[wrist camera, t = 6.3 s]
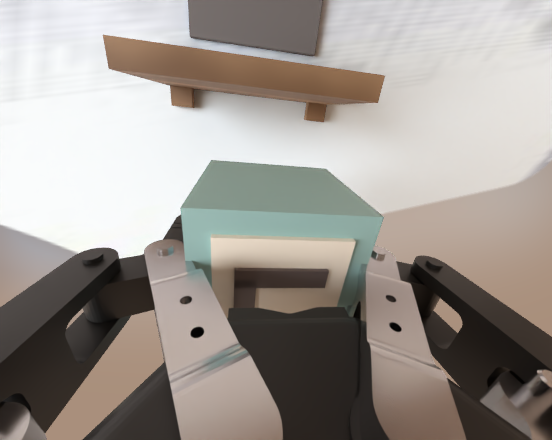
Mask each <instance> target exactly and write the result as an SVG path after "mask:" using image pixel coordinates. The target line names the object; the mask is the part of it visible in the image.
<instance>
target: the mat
mask: <svg viewBox="0 0 552 440" xmlns="http://www.w3.org/2000/svg"><path fill="white" fill-rule="evenodd" d="M322 1H323V0H188V9H189V30H190V37H191V38H196V39H203V40H209V41H216V42H222V43H229V44H236V45H242V46H249V47H256V48H262V49H269V50H276V51H282V52H289V53H296V54H302V55H309V56H314V55H315V49H316V42H317V35H318V28H319V22H320V15H321V8H322Z"/></svg>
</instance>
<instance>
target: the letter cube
mask: <svg viewBox="0 0 552 440" xmlns="http://www.w3.org/2000/svg"><path fill="white" fill-rule="evenodd" d="M383 218H384V217H383V216H382V215H381V214H380V213H378V212H377V211H376V210H375V209H374V208H372V207H371V206H370V205H369V204H367V203H366V202H365V201H364V200H363V199H361V198H360V197H359V196H358V195H357V194H355V193H354V192H353V191H352V190H351V189H349V188H348V187H347V186H346V185H344V184H343V183H342V182H341V181H340V180H338V179H337V178H336V177H335V176H334V175H332V174H331V173H330V172H329V171H328V170H326V169H321V168H308V167H295V166H282V165H269V164H255V163H242V162H229V161H216V160H211V162H210V163H209V165H208V166H207V168H206V169H205V171H204V172H203V174H202V176H201V177H200V179H199V180H198V182H197V183H196V185H195V186H194V188H193V189H192V191H191V192H190V194H189V196H188V197H187V199H186V200H185V202H184V203H183V205H182V206H181V219H182V230H183V241H184V252H185V261H192V262H193V264H194V266H195V268H196V269H202V270H203V272H204V274H205V276H206V278H207V280H208V282H209V284H210V286H211V288H212V290H213V292H214V294H215V296H216V298H217V300H218V302H219V304H220V306H221V308H222V310H223V312H224V314H225V316H226V318H228V311H229V308H263V309H268V310H273V311H278V312H283V313H295V312H299V311H303V310H307V309H311V308H316V307H345V309H347V306H348V305H352V304H353V301H354V298H355V295H356V291H357V285H358V273H359V270H360V266H361V264H368V263H369V260H370V257H371V254H372V251H373V248H374V245H375V242H376V239H377V236H378V233H379V230H380V227H381V224H382V221H383Z"/></svg>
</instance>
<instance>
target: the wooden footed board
mask: <svg viewBox="0 0 552 440" xmlns="http://www.w3.org/2000/svg"><path fill="white" fill-rule="evenodd" d="M103 38H104V44H105V50H106V55H107V61H108V66H109V69H112V70H116V71H119V72H123V73H127V74H130V75H134V76H137V77H141V78H145V79H148V80H152V81H155V82H159V83H163V84H166V85H170V89H171V101H172V105H173V106H182V107H191V108H194V89H199V90H207V91H215V92H224V93H232V94H240V95H249V96H257V97H265V98H273V99H282V100H290V101H298V102H306V110H305V117H304V120H309V121H318V122H324V117H325V111H326V105H327V104H355V103H378V100H379V96H380V93H381V89H382V85H383V81H384V77H385V76H384V75H377V74H370V73H363V72H356V71H349V70H342V69H335V68H329V67H322V66H315V65H308V64H301V63H294V62H287V61H280V60H273V59H266V58H260V57H253V56H246V55H239V54H232V53H225V52H218V51H211V50H204V49H197V48H190V47H184V46H177V45H170V44H163V43H156V42H149V41H142V40H135V39H128V38H121V37H114V36H108V35H103Z"/></svg>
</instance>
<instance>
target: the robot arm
mask: <svg viewBox="0 0 552 440" xmlns="http://www.w3.org/2000/svg"><path fill="white" fill-rule="evenodd" d="M440 298H441V299H442V300H443V301H445V302H446V303H447V304H448V305H449V306H451V307H452V308H453V309H454V310H455V311H456V312H457V313H458V314H459V315H460V316H461V319H462V322H463V325H462V328H461V329H460V331H459V333H457V332H456V331H454V330H453V329H452V328H451V327H450V326H449V325H448V324H447V323H446V322H445V321H444V320H443V319H442V318H441V317H440V316H439V315H437V314H436V313H435V312H434V311H433V310H434V308H435V306H436V304H437V302H438V301H439V299H440ZM82 308H83V310H84V312H83V313H82V314H81V315H80V316H79V317H78V318H77V319H76V320H75V321H74V322H73V323H72V324H71V325H70V327H68V328H67V325H68V323H69V322H70V320H71V319H72V318H73V317H74V316H75V315H76V314H77V313H78V312H79V311H80V310H81V309H82ZM150 310H154V311H155V316H156V321H157V326H158V332H159V337H160V342H161V348H162V353H163V359H164V363H163V364H162V365H161V366H160V367H159V368H158V369H157V370H156V371H155V372H154V373H153V374H151V376H149V377H148V378H147V379H146V380H145V381H144V382H143V383H142V384H141V385H140V386H139V387H138V388H137V389H136V390H134V391H133V392H132V393H131V394H130V395H129V396H128V397H127V398H126V399H125V400H124V401H123V402H122V403H121V404H120V405H119V406H118V407H117V408H116V409H114V410H113V411H112V412H111V413H110V414H109V415H108V416H107V417H106V418H105V419H104V420H103V421H102V422H101V423H100V424H99V425H97V426H96V427H95V428H94V429H93V430H92V431H91V432H90V433H89V434H88V435H87V436H86V437H85V438H84V439H83V440H552V337H551V336H550V335H548V334H547V333H545V332H544V331H542V330H541V329H539V328H538V327H537V326H535V325H534V324H532V323H531V322H529V321H528V320H527V319H525V318H524V317H522V316H521V315H519V314H518V313H516V312H515V311H513V310H512V309H511V308H509V307H507V306H506V305H505V304H503V303H502V302H500V301H499V300H497V299H496V298H494V297H493V296H491V295H490V294H489V293H487V292H486V291H484V290H483V289H482V288H480V287H479V286H477V285H476V284H474V283H473V282H471V281H470V280H469V279H467V278H466V277H464V276H463V275H461V274H460V273H458V272H457V271H455V270H454V269H453V268H451V267H450V266H448V265H447V264H445V263H444V262H442V261H440V260H438V259H435V258H432V257H429V256H417V257H416V258H415V260H414V262H413V264H407V263H402V262H397V261H396V258H395V256H394V255H393V254H392V253H391V252H389V251H388V250H386V249H384V248H382V247H379V246H375V245H374V248H373V251H372V254H371V257H370V260H369V263H368V264H361V266H360V270H359V273H358V285H357V291H356V295H355V298H354V301H353V304H352V305H348V306H347V309H345V307H316V308H311V309H307V310H303V311H299V312H295V313H283V312H278V311H273V310H268V309H263V308H229V311H228V318H226V316H225V314H224V312H223V310H222V308H221V306H220V304H219V302H218V300H217V298H216V296H215V294H214V292H213V290H212V288H211V286H210V284H209V282H208V280H207V278H206V276H205V274H204V272H203V270H202V269H196V268H195V266H194V264H193V262H192V261H185V252H184V241H183V230H182V219H181V215H180V216H178V217H177V218H176V220H175V221H174V224H172V226H171V228H170V229H169V231H168V232H167V234H166V235H165V237H164V239H163V240H159V241H156V242H154V243H152V244H150V245H148V246H147V247H146V248H145V250H144V254H143V255H140V256H134V257H128V258H121V259H119V256H118V253H117V251H116V250H114V249H111V248H95V249H90V250H87V251H83V252H81V253H79V254H77V255H75V256H73V257H72V258H70V259H69V260H68V261H66V262H65V263H63V264H62V265H60V266H59V267H57V268H56V269H55V270H53V271H52V272H50V273H49V274H47V275H46V276H45V277H43V278H42V279H40V280H39V281H37V282H36V283H35V284H33V285H32V286H30V287H29V288H27V289H26V290H25V291H23V292H22V293H21V294H19V295H17V296H16V297H14V298H13V299H12V300H10V301H9V302H7V303H6V304H5V305H3V306H2V307H0V440H47V438H46V435H45V433H46V431H47V430H48V429H49V427H50V426H51V425H52V423H53V422H54V420H55V419H56V418H57V416H58V415H59V413H60V412H61V411H62V410H63V408H64V407H65V406H66V404H67V403H68V401H69V400H70V398H71V397H72V396H73V395H74V393H75V392H76V390H77V389H78V388H79V387H80V385H81V384H82V382H83V381H84V380H85V378H86V377H87V376H88V374H89V373H90V371H91V370H92V369H93V368H94V366H95V365H96V363H97V362H98V361H99V359H100V358H101V357H102V355H103V354H104V353H105V351H106V350H107V349H108V347H109V346H110V344H111V343H112V341H113V340H114V339H115V338H116V336H117V335H118V334H119V332H120V331H121V330H122V328H123V327H124V325H125V324H126V323H127V321H128V320H129V318H130V317H131V315H134V314H139V313H142V312H146V311H150ZM66 328H67V329H66ZM431 354H432V355H433V357H434V358H435V359H436V360H437V361H438V362H439V363H440V364H441V366H442V367H443V368H444V369H445V370H446V371H447V372H448V374H449V375H450V376H451V377H452V378H453V379H454V381H455V382H456V383H457V384H458V385H459V386H460V387H461V388H460V387H459V386H458V385H456V384H455V383H453V382H452V381H451V380H449V379H448V378H446V376H445V374H444V372H443V371H442V370H441V369H440V368H439V367H437V366H436V365H435V364H434V362H433V359H432V356H431Z"/></svg>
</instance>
